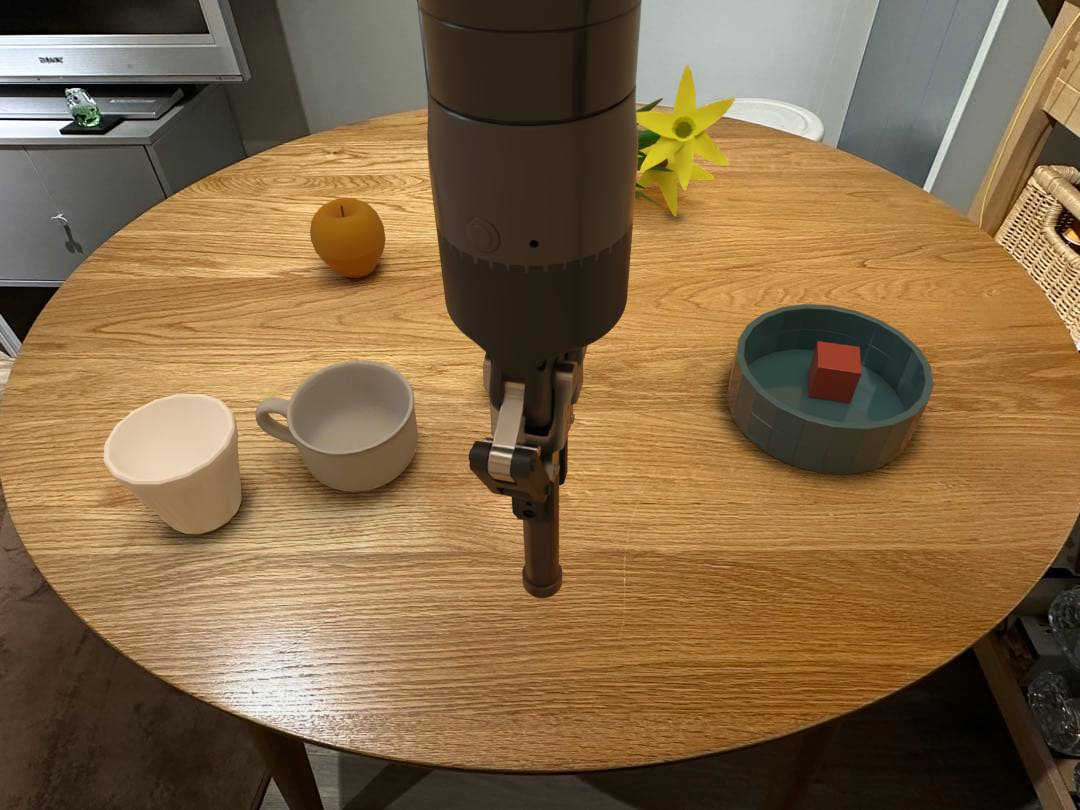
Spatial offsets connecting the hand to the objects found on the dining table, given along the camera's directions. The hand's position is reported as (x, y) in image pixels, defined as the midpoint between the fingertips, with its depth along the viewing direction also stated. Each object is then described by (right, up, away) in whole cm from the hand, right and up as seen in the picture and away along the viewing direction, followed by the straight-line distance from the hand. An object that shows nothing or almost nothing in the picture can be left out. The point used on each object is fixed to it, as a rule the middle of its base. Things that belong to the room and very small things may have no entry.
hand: (540, 495), depth 41 cm
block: (+29, +7, +36) cm, 46 cm away
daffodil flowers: (+7, +31, +63) cm, 71 cm away
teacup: (-18, 0, +30) cm, 35 cm away
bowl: (+27, +5, +35) cm, 44 cm away
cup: (-29, -4, +27) cm, 40 cm away
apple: (-22, +21, +53) cm, 61 cm away
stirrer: (0, -6, +6) cm, 8 cm away
